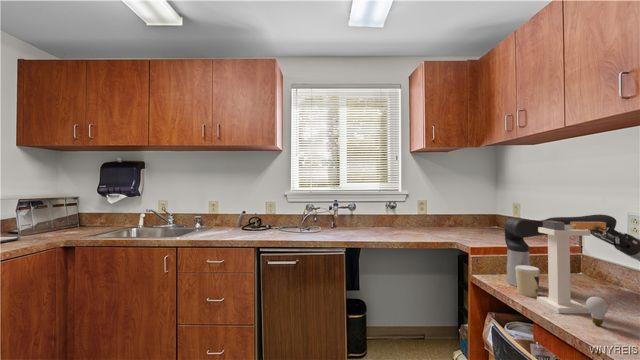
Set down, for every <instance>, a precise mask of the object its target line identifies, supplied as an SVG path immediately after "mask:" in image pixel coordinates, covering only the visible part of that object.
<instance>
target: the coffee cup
mask: <svg viewBox="0 0 640 360" xmlns="http://www.w3.org/2000/svg"><path fill="white" fill-rule="evenodd" d="M515 269H516V280H517V286H516V288H517V294H519V295H520V296H524V297H530V298H537V297H539V287H540V272H541V270H540V268H538V267H535V266H534V265H533V266H532V265H529V266H527V265H517V266H516V267H515Z"/></svg>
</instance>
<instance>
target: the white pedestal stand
mask: <svg viewBox="0 0 640 360" xmlns="http://www.w3.org/2000/svg"><path fill="white" fill-rule="evenodd" d="M538 232H540V233H545V234H548V235H547V259H548V260H547V263H548V264H547V267H548V269H547V271H548V274H547V275H548V279H547V280H548V296H537V297H536V302H537V303H539V304H541V305H543V306H545V307H547V308H548V309H550V310H551V311H554V312H555V313H557V314H591V312H590V311H589V309H588V308H587V306H586V305H584V304H581V303H579V302H577V301H576V300H573V299H571V296H572V295H571V253H570V250H571V249H570V248H571V245H570V244H571V243H570V240H571V239H570V238H571V237H572V236H573V237H575V236H576V237H577V236H580V237H581V236H586V237H587V236H591V234H590V230H588V229H564V230H551V229H546V228H543V227H538ZM570 236H571V237H570Z"/></svg>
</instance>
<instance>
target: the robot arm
mask: <svg viewBox="0 0 640 360" xmlns="http://www.w3.org/2000/svg"><path fill="white" fill-rule="evenodd" d="M543 221H557V222H564V225H570V222H606V229H587V230H590V235H592V236H593V237H595V238H597V239H598V240H601V241H603V242H605V243H608V244H609V245H612V246H613V247H614V249H616V250H617V251H619V252H620V253H623V254H624V255H626V256H628V257H629V258H632V259H633V260H636V261H638V262H640V239H638V238H637V237H635V236H633V235H632V234H628V233H623V232H621V231H617V230H616V229H615V228H616V227H617V219H616V218H615V217H613V216H612V215H611V216H610V215H608V214H607V215H606V214H589V215H582V216H556V217H555V216H554V217H548V218H545V219H541V220H537V219H536V220H535V219H533V220H532V219H525V218H521V217H520V218H518V217H510V218H508V219H506V221H505V223H504V240H505V245H506V248H507V249H506V251H507V254H506V255H507V263H506V282H507V284H508V285H510V286H513V287H514V286H515V287H517V280H516V269H515V267H516V266H517V265H527V266H530V246H529V245H528V243H527V242H526V241H525V238H530V237H538V236H548V234H545V233H540V232H538V227H543Z"/></svg>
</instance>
